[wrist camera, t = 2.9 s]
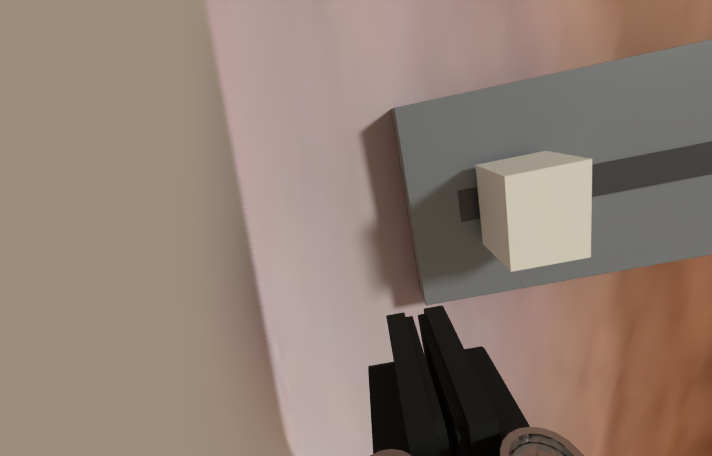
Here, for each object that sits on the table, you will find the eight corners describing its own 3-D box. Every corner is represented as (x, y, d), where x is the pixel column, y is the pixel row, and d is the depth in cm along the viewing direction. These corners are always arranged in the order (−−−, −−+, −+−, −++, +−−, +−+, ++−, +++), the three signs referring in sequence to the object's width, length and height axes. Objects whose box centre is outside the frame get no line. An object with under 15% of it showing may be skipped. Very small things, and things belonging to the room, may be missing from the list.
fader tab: (474, 164, 20) (504, 176, 16) (543, 150, 19) (592, 158, 15) (481, 242, 21) (511, 271, 17) (546, 230, 21) (590, 257, 17)
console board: (390, 108, 21) (394, 108, 19) (988, -21, 19) (1064, -37, 17) (420, 291, 25) (426, 306, 23) (917, 200, 23) (971, 208, 21)
